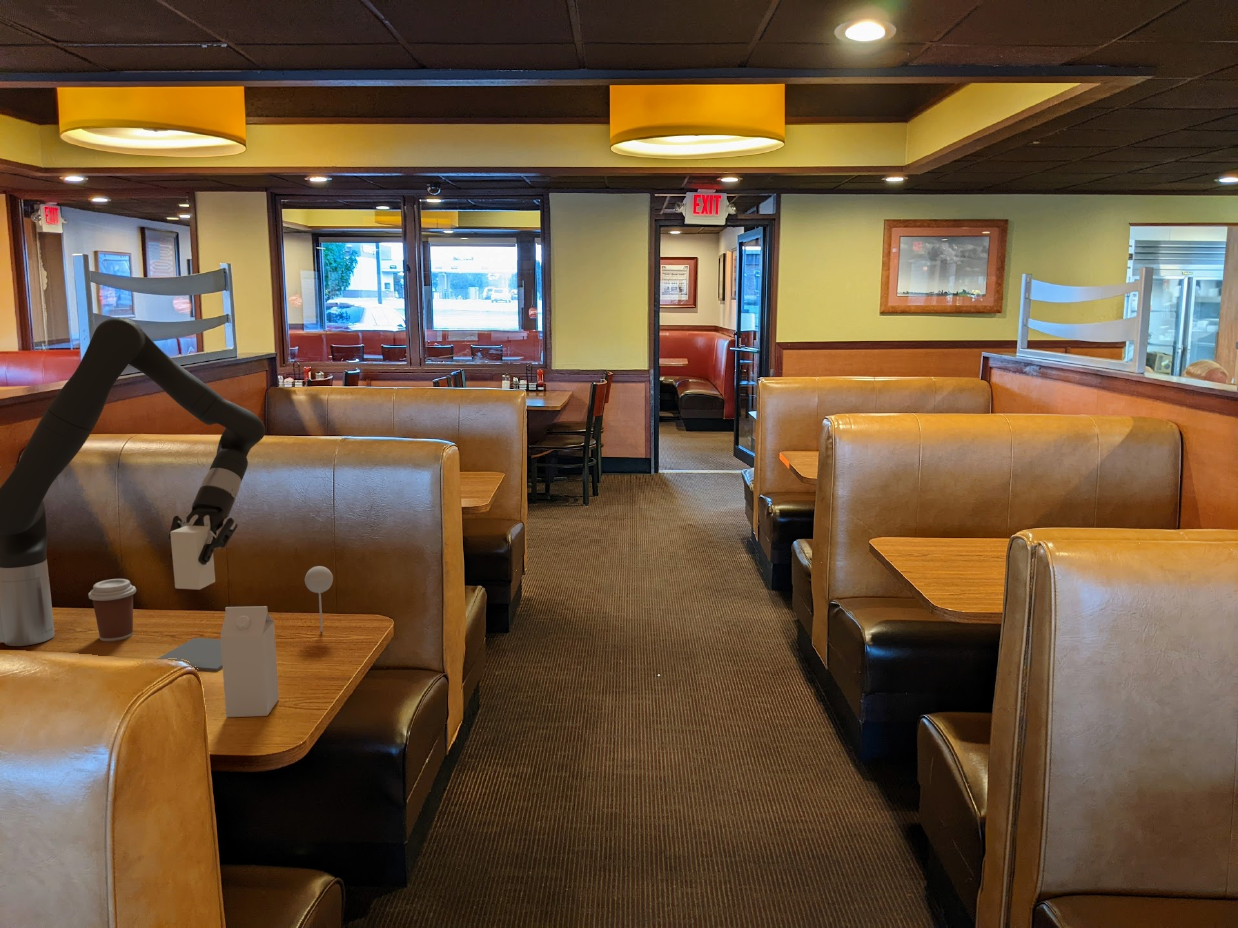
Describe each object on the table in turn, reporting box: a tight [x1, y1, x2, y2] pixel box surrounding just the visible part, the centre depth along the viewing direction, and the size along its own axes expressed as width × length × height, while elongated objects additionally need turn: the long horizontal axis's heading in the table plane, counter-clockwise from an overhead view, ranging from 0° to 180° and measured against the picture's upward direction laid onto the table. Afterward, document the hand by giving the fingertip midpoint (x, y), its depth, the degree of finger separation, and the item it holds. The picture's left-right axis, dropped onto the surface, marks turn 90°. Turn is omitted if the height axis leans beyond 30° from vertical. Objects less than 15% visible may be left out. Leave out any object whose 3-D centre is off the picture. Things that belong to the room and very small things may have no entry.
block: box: [169, 525, 216, 590], centre depth 188 cm, size 6×6×12 cm
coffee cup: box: [87, 578, 137, 642], centre depth 198 cm, size 9×9×12 cm
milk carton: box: [219, 605, 280, 718], centre depth 161 cm, size 7×7×19 cm
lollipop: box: [304, 565, 334, 633], centre depth 200 cm, size 6×6×15 cm
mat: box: [157, 637, 223, 672], centre depth 188 cm, size 15×15×1 cm
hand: (188, 561), depth 187 cm, fingers closed on block, 5 cm apart
